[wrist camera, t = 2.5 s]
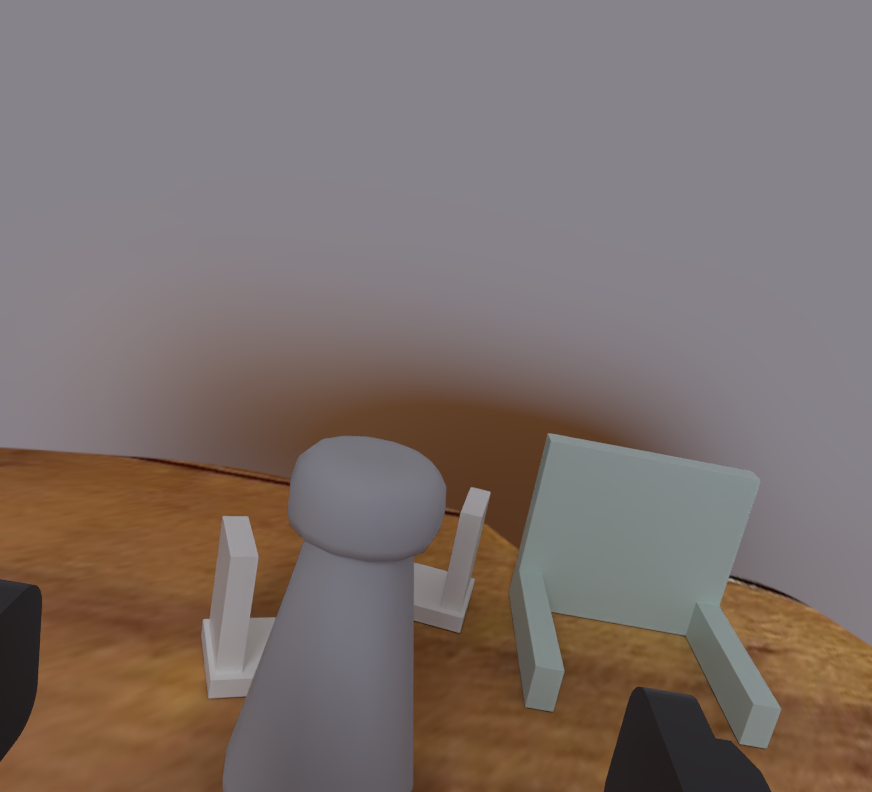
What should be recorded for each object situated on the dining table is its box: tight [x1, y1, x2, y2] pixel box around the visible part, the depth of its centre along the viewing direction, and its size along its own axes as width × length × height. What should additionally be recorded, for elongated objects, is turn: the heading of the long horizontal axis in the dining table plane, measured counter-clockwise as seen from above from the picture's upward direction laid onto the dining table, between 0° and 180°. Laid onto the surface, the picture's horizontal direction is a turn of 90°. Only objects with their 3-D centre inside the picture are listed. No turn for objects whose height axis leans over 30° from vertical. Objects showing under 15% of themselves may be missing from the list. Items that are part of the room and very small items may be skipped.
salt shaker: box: [223, 436, 446, 792], centre depth 24 cm, size 6×6×13 cm
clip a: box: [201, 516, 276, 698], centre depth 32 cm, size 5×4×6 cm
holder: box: [509, 433, 781, 749], centre depth 37 cm, size 10×9×9 cm
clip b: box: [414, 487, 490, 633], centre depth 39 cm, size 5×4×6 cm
